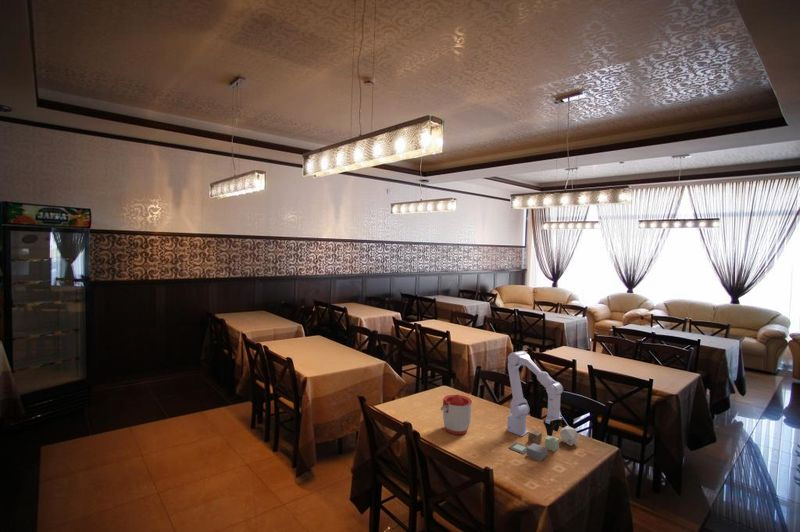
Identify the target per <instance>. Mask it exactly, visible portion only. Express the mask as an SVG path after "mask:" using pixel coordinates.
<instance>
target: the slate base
mask: <svg viewBox="0 0 800 532" xmlns="http://www.w3.org/2000/svg"><path fill="white" fill-rule="evenodd" d="M526 456H527V457H530V458H532V459H535V460H537V461H540V462H541V461H542V460H544V459H546V458H547V457H548V449H547V448H545V446H543V445H540V444H538V445H537V444H535V443H531V444H530V445H529V446H527V452H526Z"/></svg>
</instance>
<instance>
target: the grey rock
mask: <svg viewBox="0 0 800 532" xmlns="http://www.w3.org/2000/svg"><path fill="white" fill-rule="evenodd" d="M558 431H559V435H560V438H561V441H562V442H563V443H565V444H566V445H568V446H573V445H574V444H576V443H577V442H578V441H579V440H580V438H579V435H578V432H577V429H576V428H574V427H571V426H570V425H565V426H564V427H562V428H561V429H560V430H558Z"/></svg>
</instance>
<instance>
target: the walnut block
mask: <svg viewBox="0 0 800 532" xmlns="http://www.w3.org/2000/svg"><path fill="white" fill-rule="evenodd" d="M527 435H528V438H527V442H528V443H530V444H533V443H535V444H537V445H540V443H542V441H543V440H542V439H543V438H542V437H543V436H542V435H543V433H542V432H541V431H540V430H539V431H538V430H535V429H534V428H533V429H531V430H530V431H529V432H528V434H527Z"/></svg>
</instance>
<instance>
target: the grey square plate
mask: <svg viewBox="0 0 800 532" xmlns="http://www.w3.org/2000/svg"><path fill="white" fill-rule="evenodd" d="M527 447H528V446H526V445H524V444H522V443H519V442H516V441H515V442H514V443H512V444H511V445H510V446H509V447H508V449H509V450H511V451H514V452H517V453H519V454H521V455H525V454H527Z"/></svg>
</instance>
